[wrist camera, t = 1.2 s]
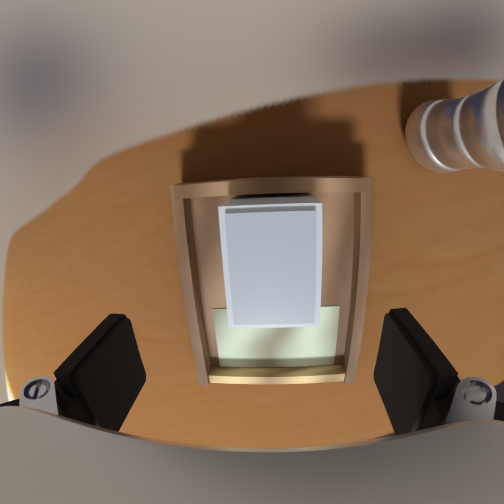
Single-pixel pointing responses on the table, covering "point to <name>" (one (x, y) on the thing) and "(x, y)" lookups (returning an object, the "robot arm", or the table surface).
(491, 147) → the plastic bottle
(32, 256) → the table surface
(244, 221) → the grey block
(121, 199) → the table surface
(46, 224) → the table surface
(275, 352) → the bay
